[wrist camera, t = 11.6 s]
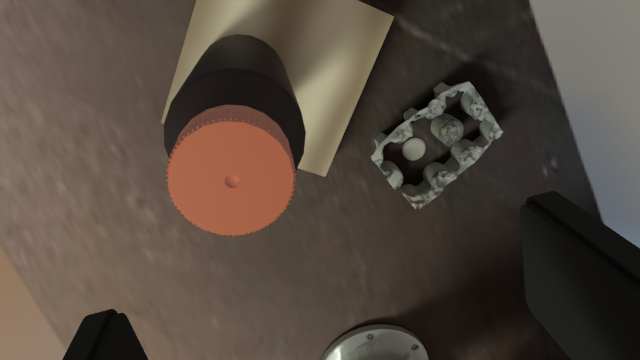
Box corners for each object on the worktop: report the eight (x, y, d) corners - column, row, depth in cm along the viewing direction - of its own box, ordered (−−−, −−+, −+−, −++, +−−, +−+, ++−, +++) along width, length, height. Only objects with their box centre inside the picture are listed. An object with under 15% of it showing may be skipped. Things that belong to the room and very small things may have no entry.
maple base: (384, 13, 38) (394, 16, 36) (320, 164, 43) (325, 176, 40) (217, -60, 35) (214, -63, 32) (167, 113, 39) (160, 123, 37)
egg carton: (401, 197, 46) (414, 216, 42) (358, 140, 43) (367, 156, 39) (494, 130, 44) (515, 144, 41) (455, 67, 41) (474, 76, 38)
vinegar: (224, 14, 34) (192, 55, 16) (302, 64, 36) (354, 151, 18) (180, 93, 36) (107, 211, 18) (258, 137, 38) (264, 282, 20)
